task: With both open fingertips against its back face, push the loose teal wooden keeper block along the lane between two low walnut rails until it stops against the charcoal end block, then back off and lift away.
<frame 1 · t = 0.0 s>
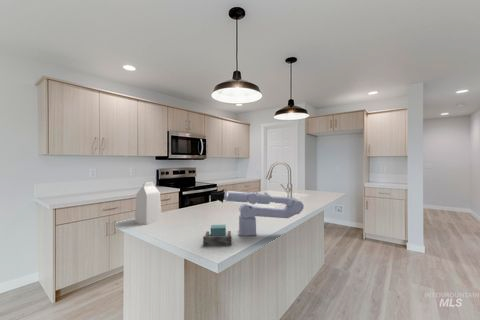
hand: (211, 194, 122), 22 cm above the countertop, tool horizontal, fingers open, 7 cm apart
guide lane: (217, 239, 115), on the countertop
keeper block: (218, 235, 121), on the countertop
milk: (148, 221, 148), on the countertop
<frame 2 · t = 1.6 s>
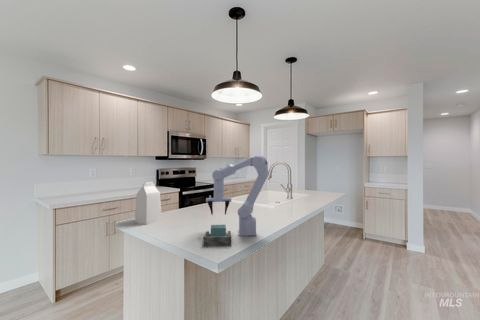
hand: (218, 214, 129), 9 cm above the countertop, tool pointing down, fingers open, 7 cm apart
nothing on the countertop moved.
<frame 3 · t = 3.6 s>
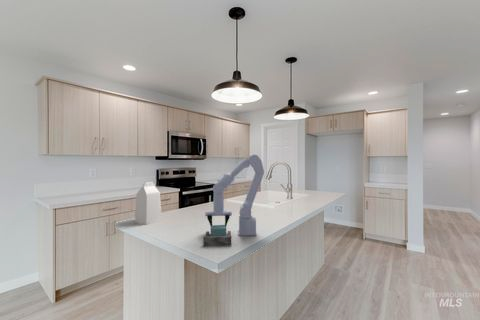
hand: (218, 228, 125), 2 cm above the countertop, tool pointing down, fingers open, 7 cm apart
keeper block: (218, 236, 120), on the countertop, touching gripper
everything else where it was.
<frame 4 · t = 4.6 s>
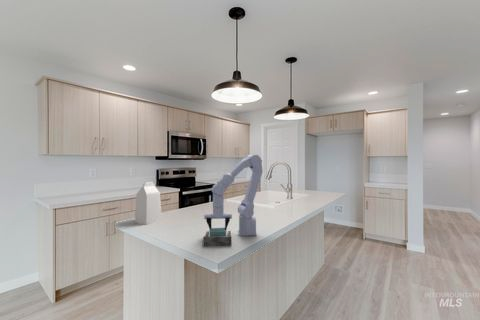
hand: (218, 232, 119), 2 cm above the countertop, tool pointing down, fingers open, 7 cm apart
keeper block: (217, 239, 115), on the countertop, touching gripper
everything else where it was.
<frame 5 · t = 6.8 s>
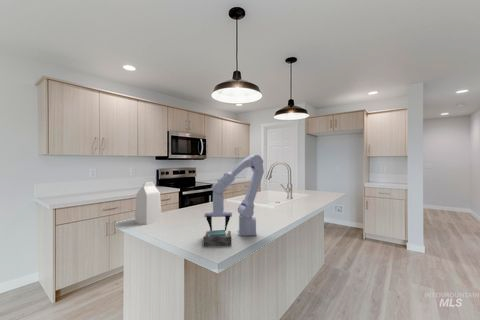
hand: (218, 230, 119), 3 cm above the countertop, tool pointing down, fingers open, 7 cm apart
keeper block: (217, 242, 111), on the countertop
everything else where it was.
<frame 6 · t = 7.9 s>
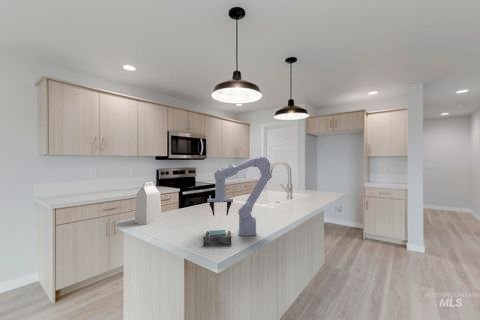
hand: (220, 215, 127), 9 cm above the countertop, tool pointing down, fingers open, 7 cm apart
nothing on the countertop moved.
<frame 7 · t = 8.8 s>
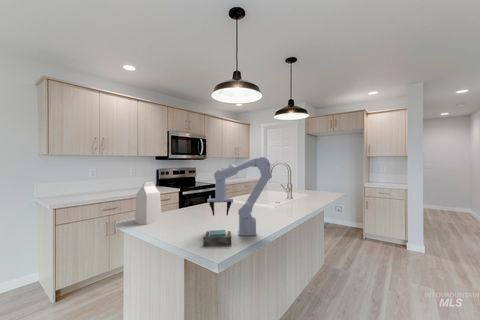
hand: (220, 215, 127), 9 cm above the countertop, tool pointing down, fingers open, 7 cm apart
nothing on the countertop moved.
at the end: keeper block 0.2 cm from the target spot, on the countertop; keeper block moved 9.7 cm from its start; keeper block tilted 0° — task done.
